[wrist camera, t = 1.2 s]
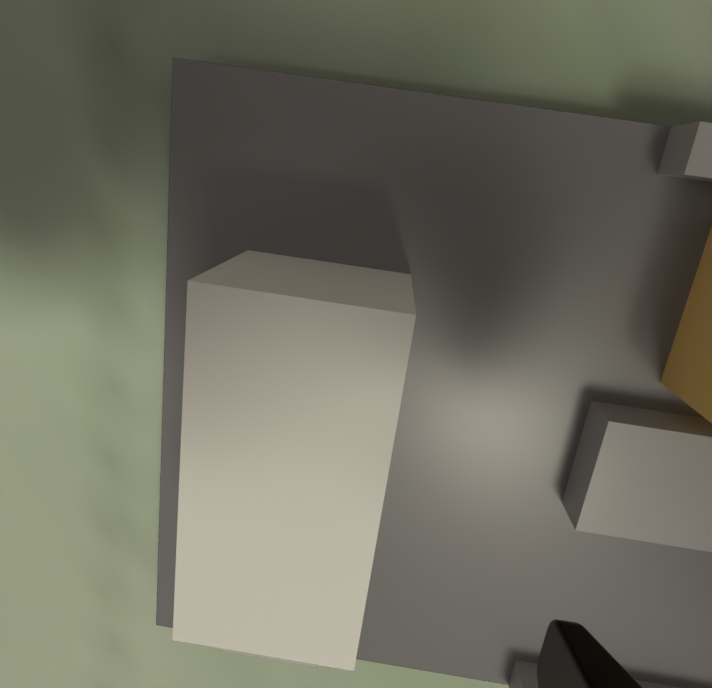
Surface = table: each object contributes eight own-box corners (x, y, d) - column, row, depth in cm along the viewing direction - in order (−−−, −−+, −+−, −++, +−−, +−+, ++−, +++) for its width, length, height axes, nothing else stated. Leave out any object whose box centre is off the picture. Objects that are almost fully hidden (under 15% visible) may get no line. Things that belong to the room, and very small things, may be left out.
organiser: (1153, 202, 13) (1341, 209, 10) (868, 706, 18) (947, 796, 15) (196, 69, 14) (149, 45, 11) (175, 589, 18) (138, 657, 16)
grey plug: (411, 274, 13) (416, 315, 9) (359, 583, 16) (346, 711, 12) (248, 250, 13) (187, 280, 9) (224, 561, 16) (170, 681, 12)
